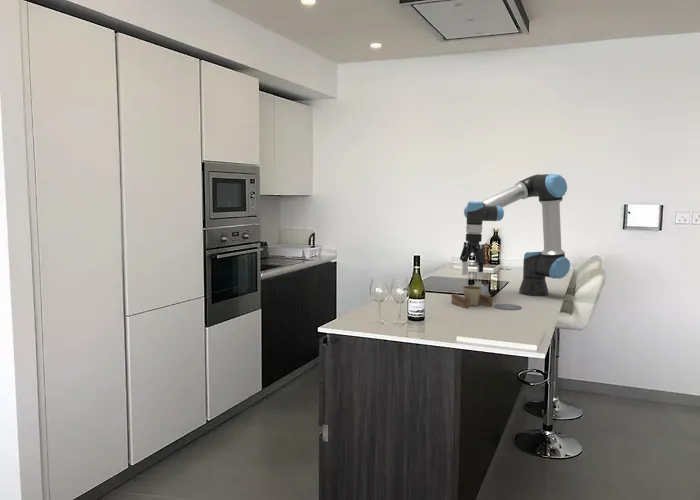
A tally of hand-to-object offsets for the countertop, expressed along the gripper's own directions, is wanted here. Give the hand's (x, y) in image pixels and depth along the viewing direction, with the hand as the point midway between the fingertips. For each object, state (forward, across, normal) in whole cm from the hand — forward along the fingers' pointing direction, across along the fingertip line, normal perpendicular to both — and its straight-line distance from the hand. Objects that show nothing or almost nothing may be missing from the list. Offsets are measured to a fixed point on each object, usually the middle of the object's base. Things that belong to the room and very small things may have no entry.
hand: (472, 276), depth 288 cm
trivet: (+14, +10, +14) cm, 22 cm away
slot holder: (+14, 0, 0) cm, 14 cm away
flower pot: (+14, 0, 0) cm, 14 cm away
